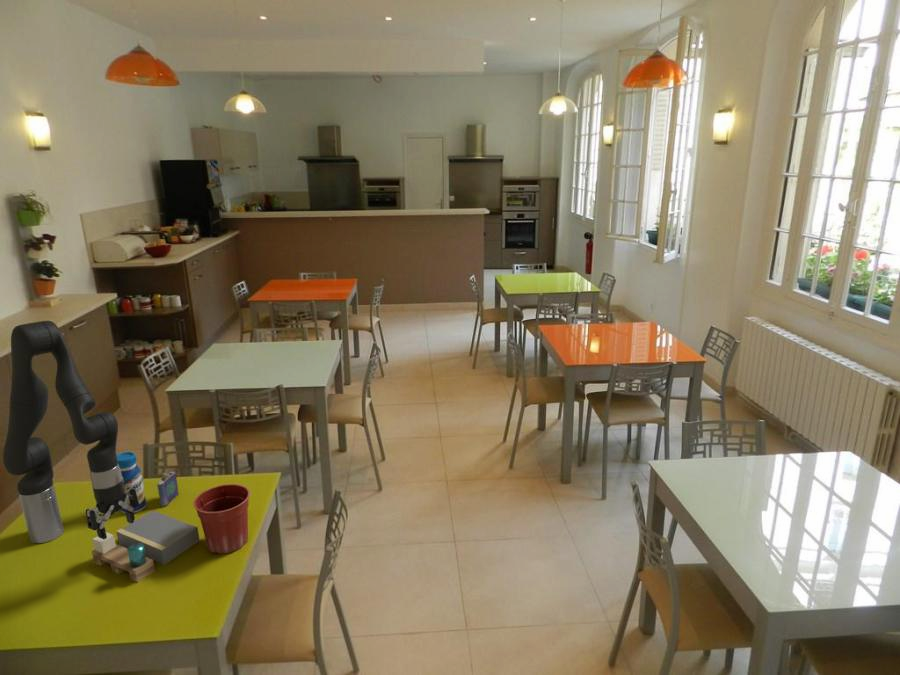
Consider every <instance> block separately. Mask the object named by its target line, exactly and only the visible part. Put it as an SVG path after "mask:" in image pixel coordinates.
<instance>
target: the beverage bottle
mask: <svg viewBox="0 0 900 675" xmlns="http://www.w3.org/2000/svg"><path fill="white" fill-rule="evenodd" d="M116 455H117V460H118V465H119V467H120V470H121V474H122V480H123V485H124V490H125V491H126V489H127V488H128V487H130V488H133V489H135V490H136V494H137V498H138V502H139V506H138V507H135V508H134V514H135V513H138V512H140V511H142V510H144V509H145V508H146V507H147V498H146V493H145V486H144V482H143V480H144V479H143V475H142V474H141V473H142V470H141V468H140V467H139V466H138V465H137V456H136V453H135V452H133V451H123V452H121V453H119V454H116ZM125 491H124V492H125ZM124 503H126V504H128V505H129V504H130V502H129V498H128V496H127V495H126V499H125V501H124ZM125 511H126V510H125V509H124V508H121V510H120V512H122V513H123V514H126V513H125Z"/></svg>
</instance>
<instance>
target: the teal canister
mask: <svg viewBox="0 0 900 675" xmlns="http://www.w3.org/2000/svg"><path fill="white" fill-rule="evenodd" d="M127 550H128V555H129V560H130V565H131V567H134V568H136V567H140V566H142V565H144V564H145V563H146V561H147V560H146V555H145V550H144V545H143V544H142V543H136V544H133V545H131V546H129V547H128V549H127Z"/></svg>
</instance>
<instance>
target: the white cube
mask: <svg viewBox="0 0 900 675" xmlns="http://www.w3.org/2000/svg"><path fill="white" fill-rule="evenodd" d="M106 535H107V538H106V539H102V538H99V537H98V535H97V536H96V537H93V538H92V542H93V547H94V550H96V551H98V552H100V553H102V554H105V553H106V552H108V551H110V550H111V549H113V548H114V547H116V544H117V543H116V538H115V535H114V534H111V533H109V532H107V531H106Z"/></svg>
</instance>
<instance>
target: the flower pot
mask: <svg viewBox="0 0 900 675" xmlns="http://www.w3.org/2000/svg"><path fill="white" fill-rule="evenodd" d="M250 496H251V491H250V489H249V488H248V487H247V486H245V485H244V484H243V485H242V484H237V483H226V484H225V483H224V484H219V485H215V486H213V487H210V488H208V489H205V490H204V491H202V492H200V493H199V494H198V495H197V496H196V497H194V499H193V502H192V503H193V507H194V509H195V510H196V513H197V516H198V518H199V520H200V523H201V527H202V531H203V534H204V538H205V542H206V545H207V546H206V547H207V550H209V551H210V552H212V553H213V554H215V553H218V554H220V555H221V554H222V555H223V554H229V553H233V552H236V551H238V550H240V549H241V548H243V547H244V545H245V544H246V543H248V540H249V519H248V516H249V509H248V508H249V499H250Z"/></svg>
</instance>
